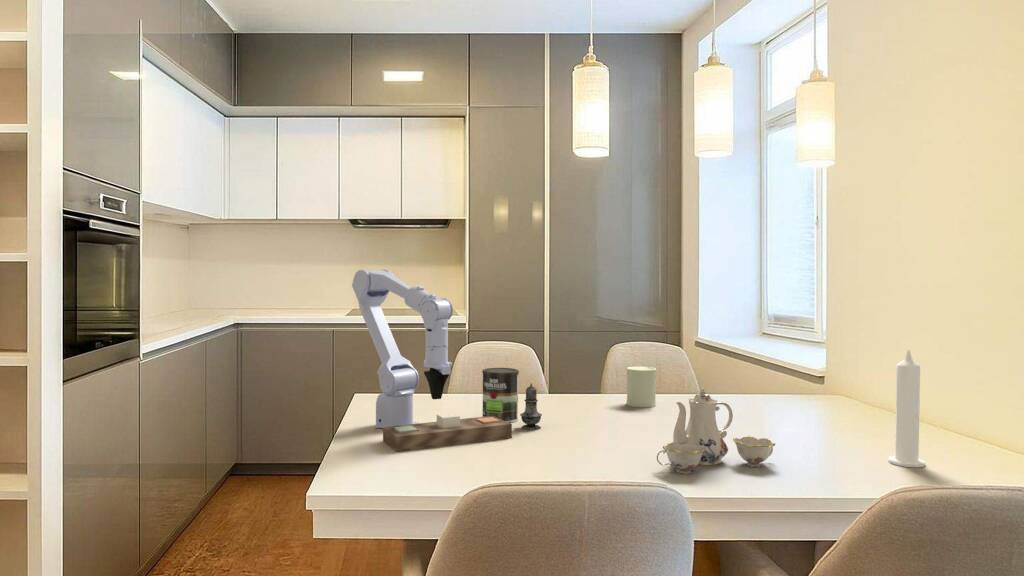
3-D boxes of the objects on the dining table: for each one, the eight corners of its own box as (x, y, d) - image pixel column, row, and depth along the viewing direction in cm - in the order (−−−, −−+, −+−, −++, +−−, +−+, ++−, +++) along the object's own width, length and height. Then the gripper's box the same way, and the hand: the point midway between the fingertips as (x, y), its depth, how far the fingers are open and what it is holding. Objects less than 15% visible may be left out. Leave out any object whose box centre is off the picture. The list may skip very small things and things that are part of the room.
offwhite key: (443, 431, 170) (443, 418, 170) (436, 427, 174) (436, 414, 173) (459, 429, 172) (459, 416, 172) (452, 425, 176) (452, 413, 175)
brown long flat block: (396, 451, 161) (396, 436, 161) (383, 441, 171) (383, 427, 171) (511, 437, 175) (511, 423, 175) (492, 428, 184) (492, 415, 184)
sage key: (399, 444, 165) (399, 431, 165) (394, 440, 169) (394, 427, 168) (417, 442, 167) (417, 429, 167) (411, 438, 171) (411, 425, 170)
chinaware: (679, 489, 139) (685, 409, 137) (633, 460, 154) (638, 387, 152) (785, 473, 150) (792, 399, 148) (732, 447, 166) (738, 379, 164)
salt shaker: (540, 430, 182) (540, 385, 182) (518, 429, 184) (518, 384, 183) (543, 425, 188) (543, 381, 188) (522, 424, 189) (522, 381, 189)
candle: (881, 459, 156) (883, 348, 155) (911, 458, 156) (913, 348, 156) (901, 468, 149) (903, 351, 148) (932, 467, 149) (934, 351, 149)
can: (658, 407, 214) (658, 368, 214) (628, 407, 214) (628, 368, 214) (652, 402, 223) (653, 364, 223) (624, 401, 223) (624, 364, 223)
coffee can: (510, 425, 189) (510, 373, 189) (476, 421, 193) (476, 371, 193) (524, 417, 199) (524, 368, 198) (491, 414, 203) (491, 366, 202)
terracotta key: (484, 434, 175) (484, 422, 175) (476, 431, 179) (476, 418, 179) (499, 432, 177) (499, 420, 177) (492, 429, 181) (492, 417, 181)
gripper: (461, 348, 173) (461, 402, 173) (441, 342, 186) (441, 393, 186) (435, 349, 170) (435, 404, 170) (416, 343, 183) (416, 394, 183)
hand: (436, 398), depth 178 cm, fingers closed
